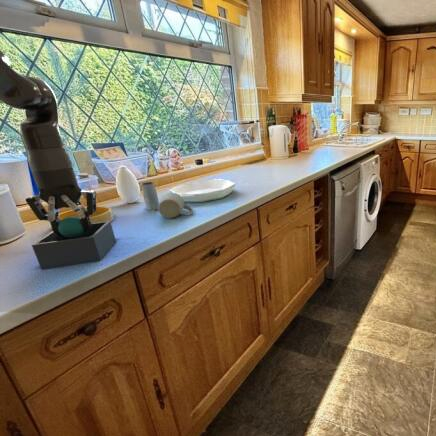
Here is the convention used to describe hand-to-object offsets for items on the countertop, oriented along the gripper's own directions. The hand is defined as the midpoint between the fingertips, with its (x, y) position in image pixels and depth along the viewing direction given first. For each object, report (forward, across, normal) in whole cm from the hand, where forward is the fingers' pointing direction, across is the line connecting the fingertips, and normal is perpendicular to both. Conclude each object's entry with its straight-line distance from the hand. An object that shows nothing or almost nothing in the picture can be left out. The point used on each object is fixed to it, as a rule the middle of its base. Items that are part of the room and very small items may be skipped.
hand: (74, 232), depth 78 cm
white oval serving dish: (+7, +28, +51) cm, 59 cm away
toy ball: (+1, 0, 0) cm, 1 cm away
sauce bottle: (+7, -1, +53) cm, 53 cm away
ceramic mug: (+7, +20, +26) cm, 34 cm away
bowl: (+6, -9, +28) cm, 30 cm away
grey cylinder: (+7, +10, +38) cm, 40 cm away
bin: (+7, 0, 0) cm, 7 cm away
